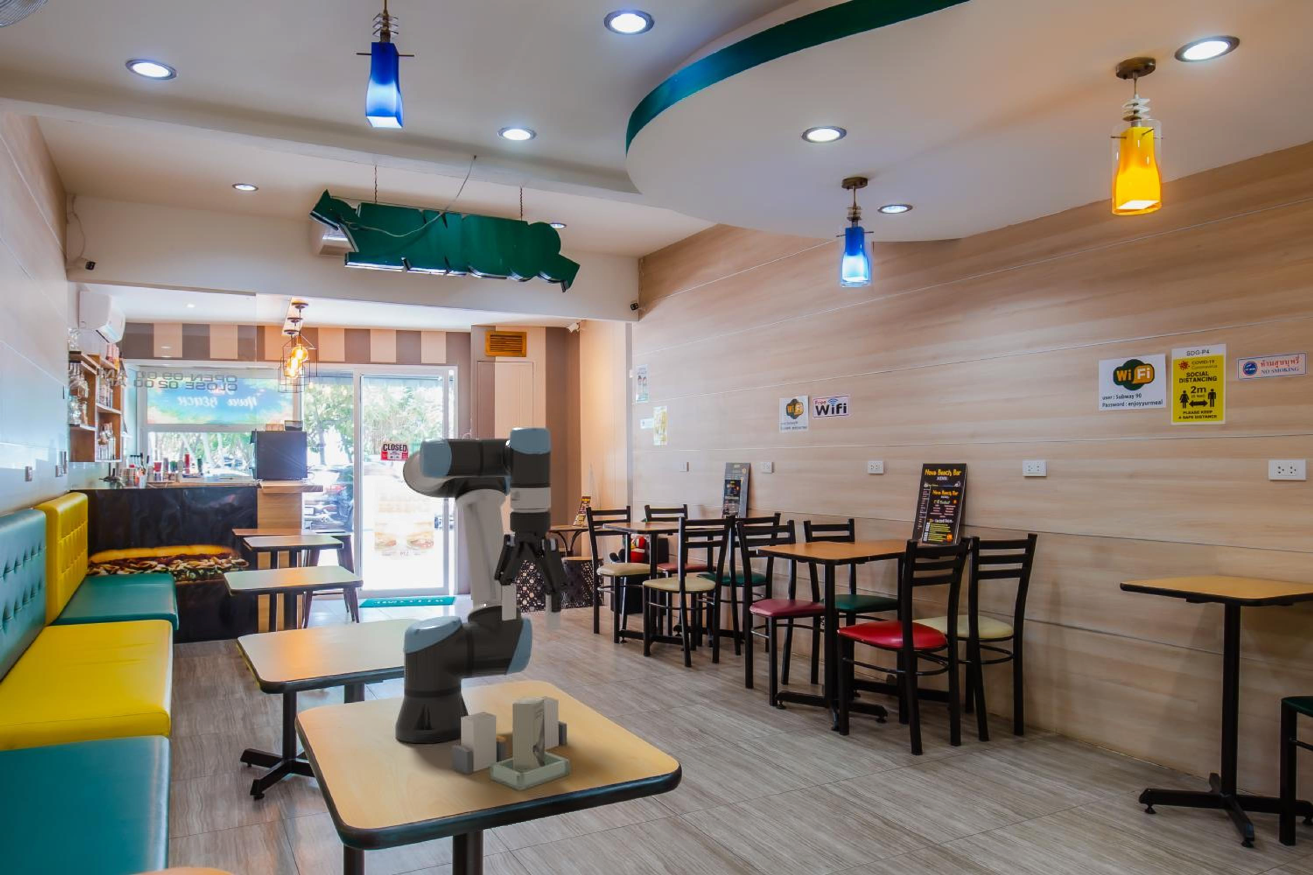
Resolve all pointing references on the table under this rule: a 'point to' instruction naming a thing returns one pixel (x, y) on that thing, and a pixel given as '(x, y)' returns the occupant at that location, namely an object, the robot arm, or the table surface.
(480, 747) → the tall white upright block
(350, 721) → the table surface
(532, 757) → the box
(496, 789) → the table surface
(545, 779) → the tray
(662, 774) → the table surface
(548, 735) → the tall white pillar
